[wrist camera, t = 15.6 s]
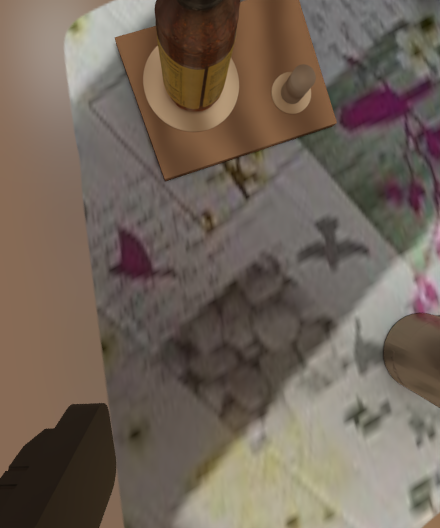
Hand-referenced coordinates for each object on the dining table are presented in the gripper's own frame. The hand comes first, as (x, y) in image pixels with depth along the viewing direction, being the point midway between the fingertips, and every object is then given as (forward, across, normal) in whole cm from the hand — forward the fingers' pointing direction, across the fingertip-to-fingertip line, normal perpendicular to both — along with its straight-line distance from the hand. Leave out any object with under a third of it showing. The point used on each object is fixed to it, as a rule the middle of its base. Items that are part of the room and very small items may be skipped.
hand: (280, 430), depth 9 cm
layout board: (+37, 0, -14) cm, 40 cm away
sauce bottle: (+35, +4, -14) cm, 38 cm away
